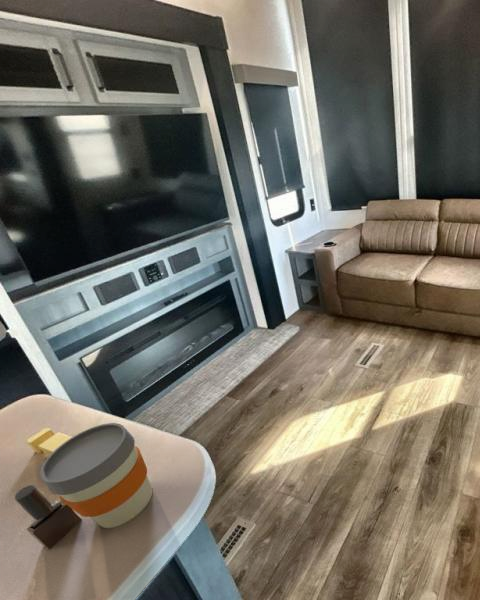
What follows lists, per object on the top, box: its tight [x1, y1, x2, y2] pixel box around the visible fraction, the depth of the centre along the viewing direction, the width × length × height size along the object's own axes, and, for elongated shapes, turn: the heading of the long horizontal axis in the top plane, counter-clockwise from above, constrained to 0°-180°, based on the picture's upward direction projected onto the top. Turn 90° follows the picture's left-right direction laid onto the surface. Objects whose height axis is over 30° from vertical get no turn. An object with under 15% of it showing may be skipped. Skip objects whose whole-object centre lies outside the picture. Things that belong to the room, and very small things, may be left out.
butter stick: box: [39, 432, 73, 458], centre depth 81 cm, size 7×4×4 cm, turn 68°
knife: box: [14, 484, 62, 529], centre depth 62 cm, size 4×3×12 cm, turn 159°
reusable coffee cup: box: [39, 422, 153, 529], centre depth 65 cm, size 13×12×15 cm
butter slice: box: [25, 427, 56, 454], centre depth 84 cm, size 2×4×4 cm, turn 158°
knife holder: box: [25, 500, 82, 550], centre depth 64 cm, size 5×2×5 cm, turn 159°
